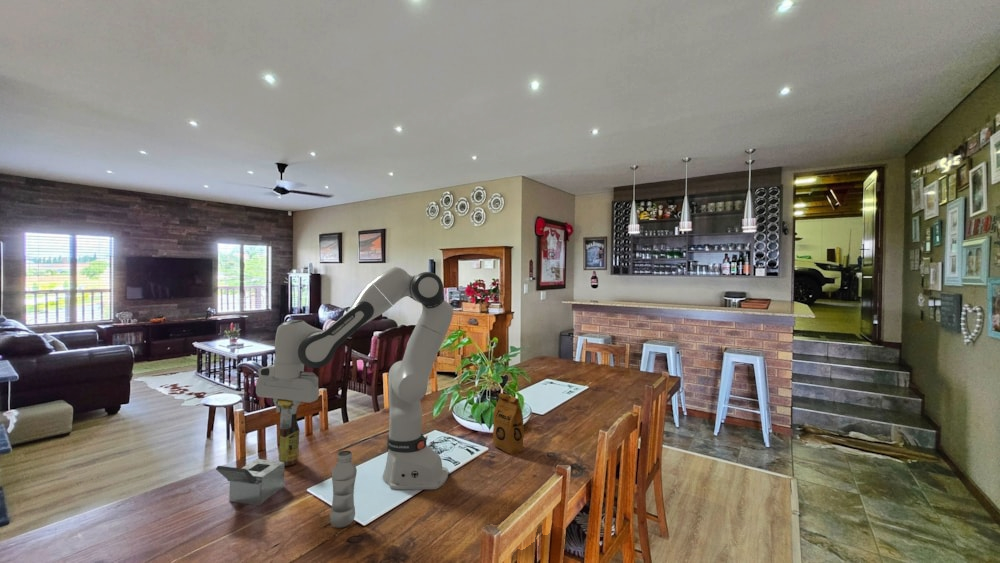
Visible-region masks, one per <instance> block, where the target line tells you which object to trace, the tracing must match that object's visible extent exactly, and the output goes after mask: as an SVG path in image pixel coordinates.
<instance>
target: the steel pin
mask: <svg viewBox="0 0 1000 563" xmlns="http://www.w3.org/2000/svg"><path fill="white" fill-rule="evenodd" d="M293 405H294V404H293V401H291V400H282V399H278V406H281V413H280V420H279V422H280V423H279V428H280V430H281V429H288V428H290V427H291V419H292V414H289V412H290V411H289V409H290V408H292V407H293Z"/></svg>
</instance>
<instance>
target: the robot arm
mask: <svg viewBox="0 0 1000 563" xmlns="http://www.w3.org/2000/svg"><path fill="white" fill-rule="evenodd" d="M406 297H409V298H411V299H412V300H414V301H415V302H417V303H419V304H421V307H422V311H421V314H420V317H419V318H418V320H417V323H416V324H415V326H414V329H413V330H412V331H411V332H412V333H411V334H410V337H409V339H408V341H407V344H406V348H405V351H404V354H403V358H402V359H401V360H398V361H395V362H394V363H393V364H392V365H391V366H390V368H389V371H388V384H387V385H388V409H389V420H388V422H389V423H388V435H387V440H386V441H387V442H386V450H387V455H386V463H385V466H384V470H383V474H382V479H383V481H384V483H387V484H388V486H389V488H390V489H392V490H437V489H438V488H440V487H442V486H444V484H445V483H446V481H447V480H448V478H449V469H448V468H447V467H445V466H443V462H442V458H441V456H440V454H438V453H437V452H435V451H434V450H433V449H432V448H431V447H429V446H428V445H427V440H428V436H429V435H426V436H424V435H423V432H422V421H423V420H422V418H423V417H422V416H423V411H422V404H421V403H422V402H421V400H422V399H423V398H424V397H425V395H426V393H427V390H428V384H429V380H430V377H431V374H432V371H433V367H434V365H435V364H434V363H435V360H436V359H437V358H436V357H437V355H438V353H439V351H440V349H441V346H442V344H443V342H444V340H445V338H446V336H447V333H448V331H449V329H450V327H451V323H452V320H453V316H454V309H453V306H452V305H451V304H450V303H449V302H447V301H446V300H445V294H444V283H443V280H442V279H441V277H440V276H438V275H437V274H436V273H434V272H432V271H425V272H423V271H422V272H420V273H418V274H416V275H411V274H409V273H408V271H406V270H405V269H403V268H401V267H397V266H396V267H395V266H394V267H391V268H389V269H388V270H386V271H385V272H383V273H381V274H379V275H378V276H377V277H376V278H374V279H373V280H371V281H370V282H369V283H368V284H367V285H366V286H365V287H364V288H362V290H361V291H360V292H359V293H358V294H357V296H356V297H355V299H354V301H353V302H352V305H350V308H348V310H347V311H346V312H345V313H344V314H343V315H342V316H340V317H339V318H338V319H337V320H336V321H335V322H334V323H332V324H331V325H330V326H329V327H328V328H327V329H325V330H323V329H320V328H318V327H315V326H312V325H311V324H308V323H307V321H305V320H303V319H294V320H288V321H284V322H282V323H281V324H279V325H278V327H277V329H276V332H275V333H276V334H275V337H274V338H275V339H274V340H275V341H274V351H275V356H274V359H273V364H270V365H267V366H264V367H261V368H259V369H258V371H257V373H258V377H257V380H256V385H255V394H256V396H257V397H259V398H267V399H272V401H273V405H274V406H275V407H276V408H275V412H276V413H280V414H281V406H278V399H282V400H291V401H293V404H294V405H293V406H292V408H290V409H289V411H290V412H289V414H295V413H296V412H297V413H298V408H299V406H300V404H301V403H307V404H308V403H309V404H312V403H314V402H315V401H317V400H318V399H319V397H320V396H319V394H320V392H319V376H317V375H316V374H315V373H314V372H307V371H305V366H306V367H308V368H312V369H320V368H323V367H325V366H326V365H328V364H329V363H330V361H331V360H332V359H333V357H334V355H335V353H336V351H337V349H338V348H339V347H340V345H342V344H343V343H344V342H345V341H346V340H347V339H349V337H351V335H353V334H354V333H355V332H357V330H359V329H360V328H361V327H362V326H364V325H366V324H367V323H369V322H370V321H373V320H375V318H377V317H379V316H381V315H382V314H384V313H386V312H387V311H388V310H390V309H391V308H392V307H393V306H394V305H395V304H397V303H398V302H399V301H400V300H401V299H403V298H406Z"/></svg>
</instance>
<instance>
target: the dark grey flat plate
mask: <svg viewBox="0 0 1000 563" xmlns="http://www.w3.org/2000/svg"><path fill="white" fill-rule="evenodd" d="M242 468H243V467H240V468H239V467H232V466H231V467H230V466H224V465H217V466H216V468H215V470H216V471H217V472H218V473H219V474H220V475H222V476H223V477H224V478H225V479H226V480H227V481H228V482H230V481H232V482H240V483H248V484H258V483H259V480H257V479H256V478H255V477H254V476H253V475H252V474H251V473H250V472H249V471H248V470H247V469H242Z"/></svg>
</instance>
